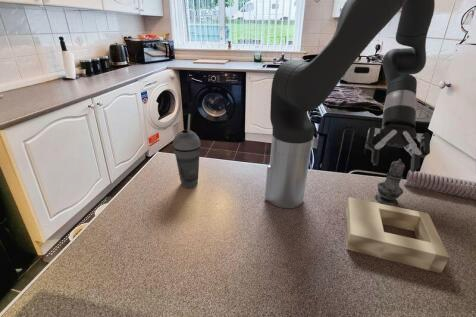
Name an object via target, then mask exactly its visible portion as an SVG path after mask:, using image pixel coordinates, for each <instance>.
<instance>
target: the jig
mask: <svg viewBox="0 0 476 317" xmlns="http://www.w3.org/2000/svg"><path fill="white" fill-rule="evenodd" d="M344 212H345V213H344V214H345V215H344V216H345V218H344V219H345V249H346V250H347V251H352V252H355V253H360V254H364V255H367V256H371V257H375V258H379V259H383V260H387V261H392V262H395V263H399V264H402V265H406V266H410V267H415V268H418V269H422V270H425V271H430V272H435V273H438V274H442V272H443V270H444V269H445V267H446V265H447V263H448V261H449V260H450V256H449V253H448V251H447V249H446V247H445V245H444V243H443V241H442V239H441V237H440V235H439V232H438V230H437V229H436V226H435V225H434V223H433V220H432V218H431V216H430V214H429V212H428V213H427V212H423V211H418V210H414V209H413V210H412V209H409V208H408V209H407V208H403V207H398V206H389V205H384V204H382V203H380V202H374V201H368V200H364V199H358V198H355V197H354V198H353V197H348V199H347V203H346V208H345V210H344ZM383 225H385V226H389V227H394V228H398V229H403V230H407V231H412V232H414V234H415V238H413V237H408V236H403V235H399V234H394V233H391V232H387V231H386V232H385V231H384V226H383Z"/></svg>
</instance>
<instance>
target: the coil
mask: <svg viewBox="0 0 476 317" xmlns="http://www.w3.org/2000/svg"><path fill="white" fill-rule="evenodd" d="M402 184H403V186H405V187H406V186H407V187H413V188H416V189H421V190H425V189H426V191H427V190H428V189H429V191H431V192H437V191H438V192H437V193H442V194H446V193H447V195H451V196H455V195H456V196H455V197H460V198H466V199H470V200H475V201H476V181H475V182H474V181H471V180H470V181H469V180H465V179H460V178H455V177H452V176H451V177H450V176H446V175H444V176H442V175H441V174H440V175H438V174H434V173H429V172H426V173H425V171H423V172H421V171H417V170H416V171H415V172H411V171H410V169H409V170H408V172H407V176H406V181H403V183H402Z"/></svg>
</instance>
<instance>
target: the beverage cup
mask: <svg viewBox="0 0 476 317" xmlns="http://www.w3.org/2000/svg"><path fill="white" fill-rule="evenodd" d="M187 116H188V117H187V118H188V119H187V129H184V130H181V131H179V132H178V133H177V134H176V135H175V136H174V138H173V141H172V149H173V152H174V155H175V159H176V160H175V161H176V165H177V169H178V170H177V171H178V175H179V180H180V184H181V186H182V187H183V188H184V189H192V188H196V187H197V186H198V185H199V182H198V181H199V171H200V170H199V169H200V152H201V147H202V144H201V140H200V137H199V136H198V135H197V133H196V132H194V131H192V130H191V113H189V114H188V115H187Z"/></svg>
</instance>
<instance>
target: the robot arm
mask: <svg viewBox="0 0 476 317" xmlns="http://www.w3.org/2000/svg"><path fill="white" fill-rule="evenodd" d="M435 3H436V2H435V0H346V1H345V3H344V4H343V7H342V9H341V11H340V13H339V16H338V20H337V26H336V28H335V32H334V34H333V36H332V37H331V40H329V42H328V43H327V44H326V45H325V46H324V47H323V49H322V50H321V51H320V52H319V53H318V54H317V56H315V57H314V58H313V59H312V60H311V61H304V60H299V59H289V60H286V61H284V62H283V63H281V64H280V65H279V67H278V68H277V69H276V71H275V73H274V75H273V78H272V81H271V91H270V108H269V109H270V114H269V118H270V123H271V127H272V133H271V134H272V136H271V147H270V157H269V158H270V159H269V163H268V166H267V168H266V181H265V192H264V201H268V202H269V203H271V204H272V205H274V206H275V207H278V208H281V209H293V208H294V209H295V208H298V207H300V206H301V205H302V204H303V201H304V196H305V190H306V184H307V183H306V182H307V177H308V172H309V165H310V159H311V153H312V148H313V147H312V146H313V141H314V136H315V125H314V124H313V122H312V120H310V117H309V116H308V113H307V112H311V111H313V110H315V109H317V108H319V107H321V105H322V104H323V103H325V101H326V100H327V99H328V97H329V96H330V95H331V94H332V92H334V89H335V88H336V87H337V85H338V84H339V83H340V82H341V80H342V79H343V78H344V76H345V75H346V73H347V72H348V71H349V69H350V68H351V66H352V65H353V64H354V62H356V60H357V59H358V58H359V57H360V55H361V54H363V52H364V51H365V49H366V48H367V47H368V46H369V45H370V44H371V42H372V41H373V40H374V39H375V38H376V36H377V35H378V34H379V33H380V32H381V31H382V30H383V29H384V28H385V27H386V26H387V25H388V24H389V23H390V21H391V20H392V19H393V18H394V17H395V16H396V15H397V14H398V13H399V12H400V15H399V21H398V24H397V28H396V33H395V41H396V43H397V44H398V45H401V46H405V47H406V48H392V49H390V50H388V51H387V52H386V53H385V54H384V57H383V59H382V68H383V73H384V77H385V80H386V92H385V93H386V95H385V101H384V104H383V109H382V111H383V113H382V120H381V121H382V122H381V128H377V127H376V126H375V125H371V126H370V127H369V129H368V130H367V136H366V141H365V145H364V148H365V149H366V150H370V151H371V159H370V160H371V164H373V165H372V166H375V167H376V166H378V165H379V162H380V152H381V149H382V148H383V147H384V146H388V147H391V148H393V147H396V148H398V149H403V148H404V150H405V151H406V152H407V153H408V154H409V155H410V156H411V158H410V168H409V170H410V171H411V172H415V171H417V170H419V169H420V167H421V158H422V159H423V158H425V157H427V156H428V155H430V154H431V137H430V133H429V132H427V131H426V132H424V133H419V132H418V133H417V131H416V120H417V119H416V118H417V106H418V105H417V104H418V103H417V88H418V81H417V78H416V77H415V76H413V75H417V74H418V73H420V72H421V71H423V69H424V68H425V66H426V63H427V50H426V49H427V48H426V44H427V37H428V32H429V29H430V27H431V23H432V20H433V16H434V12H435ZM378 134H379V136H380V137H381V140H380V141H378V142H377V143H376V144H374V143H373V142H374V137H376V136H377V135H378ZM415 139H416V140H417V141H418V143H419V147H418V145H417V143H416V142H415Z"/></svg>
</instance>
